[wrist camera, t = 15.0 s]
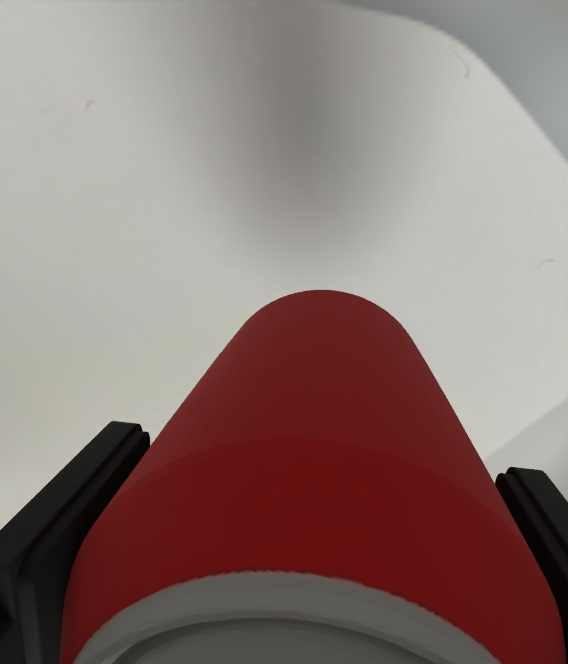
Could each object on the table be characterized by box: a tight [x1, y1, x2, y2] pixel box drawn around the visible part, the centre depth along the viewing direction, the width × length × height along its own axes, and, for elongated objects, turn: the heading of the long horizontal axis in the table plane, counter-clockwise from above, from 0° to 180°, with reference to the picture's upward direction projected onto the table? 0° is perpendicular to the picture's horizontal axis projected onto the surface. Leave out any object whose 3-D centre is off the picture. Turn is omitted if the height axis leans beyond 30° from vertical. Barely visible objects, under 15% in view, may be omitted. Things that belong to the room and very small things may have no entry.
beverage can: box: [60, 290, 566, 664], centre depth 10 cm, size 7×7×12 cm
